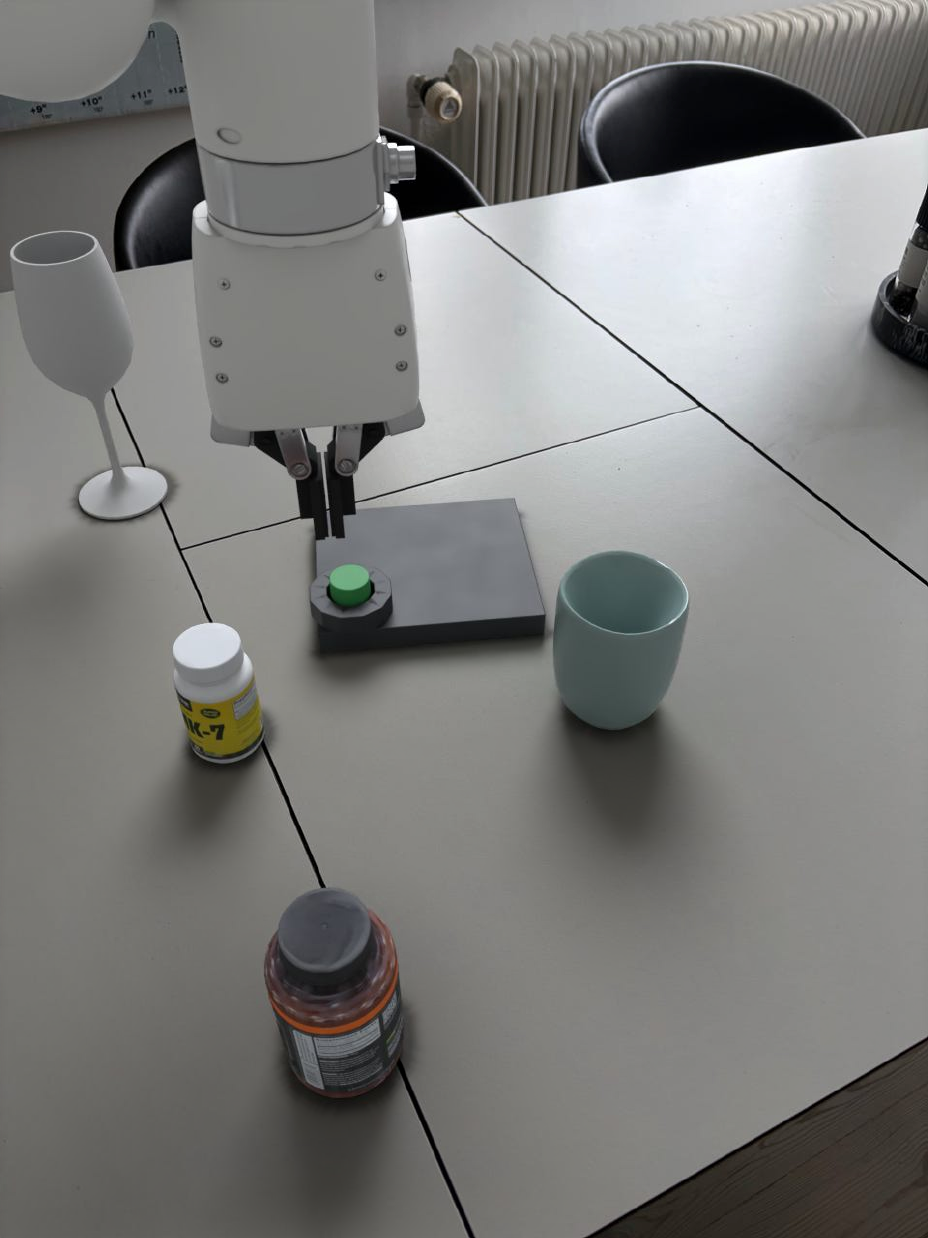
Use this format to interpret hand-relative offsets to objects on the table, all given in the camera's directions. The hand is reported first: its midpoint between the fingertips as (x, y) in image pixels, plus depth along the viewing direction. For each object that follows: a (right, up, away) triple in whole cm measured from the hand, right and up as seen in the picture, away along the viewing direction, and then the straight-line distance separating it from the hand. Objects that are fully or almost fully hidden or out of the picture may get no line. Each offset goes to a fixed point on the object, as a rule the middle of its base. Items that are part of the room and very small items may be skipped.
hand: (329, 523), depth 55 cm
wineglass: (-21, +5, +29) cm, 37 cm away
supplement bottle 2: (+1, -27, -5) cm, 27 cm away
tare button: (-1, -3, +15) cm, 16 cm away
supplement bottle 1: (-8, -13, +10) cm, 18 cm away
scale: (+4, -2, +21) cm, 22 cm away
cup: (+17, -11, +12) cm, 24 cm away
